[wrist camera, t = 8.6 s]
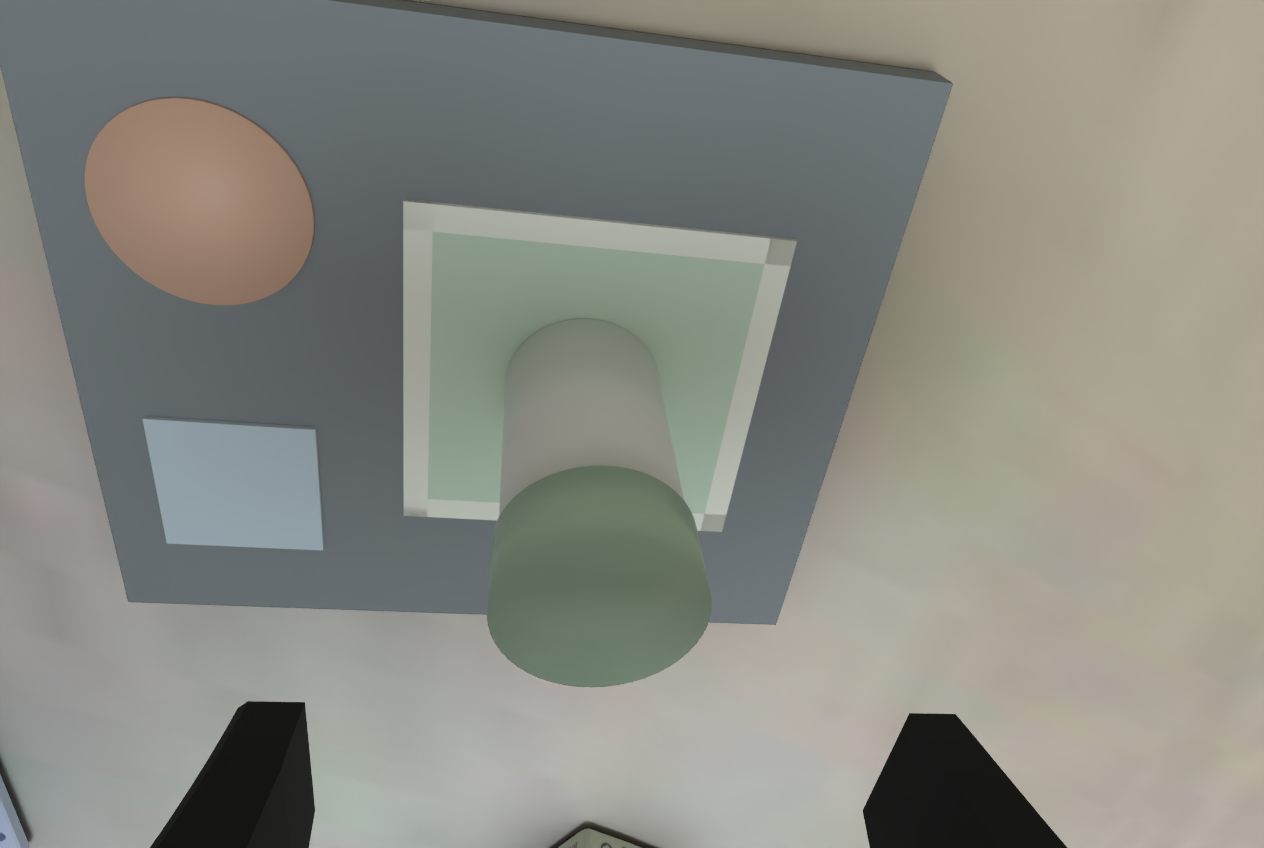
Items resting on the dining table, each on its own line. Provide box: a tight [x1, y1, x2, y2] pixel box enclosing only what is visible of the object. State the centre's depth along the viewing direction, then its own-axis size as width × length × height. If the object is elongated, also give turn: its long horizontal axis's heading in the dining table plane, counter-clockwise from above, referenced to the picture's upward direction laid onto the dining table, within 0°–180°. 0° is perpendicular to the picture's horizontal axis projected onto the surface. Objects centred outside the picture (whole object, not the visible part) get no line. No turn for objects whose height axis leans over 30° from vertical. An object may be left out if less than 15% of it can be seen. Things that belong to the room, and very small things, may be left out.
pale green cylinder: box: [487, 319, 712, 687], centre depth 15 cm, size 3×3×6 cm
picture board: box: [0, 0, 953, 625], centre depth 18 cm, size 13×15×1 cm
